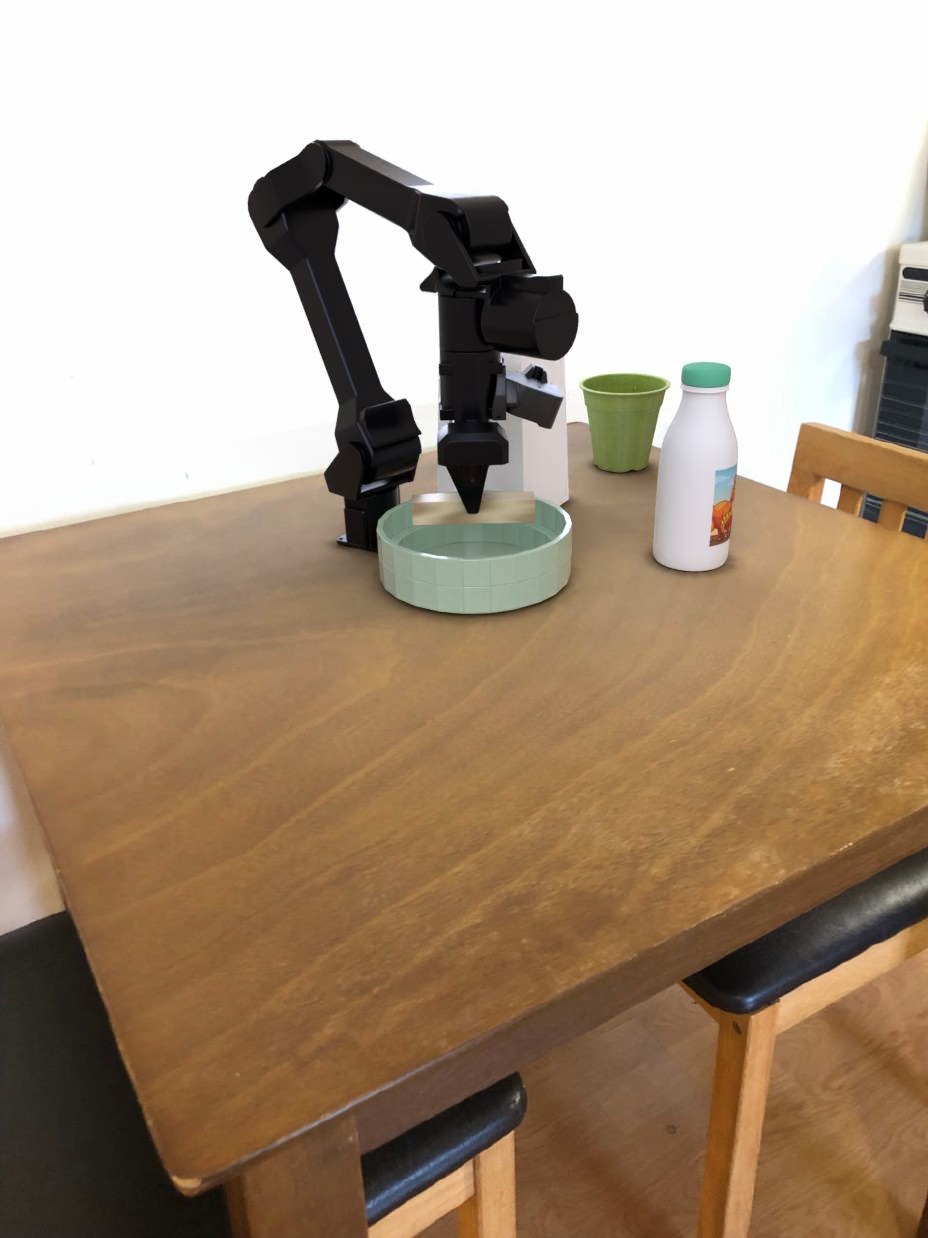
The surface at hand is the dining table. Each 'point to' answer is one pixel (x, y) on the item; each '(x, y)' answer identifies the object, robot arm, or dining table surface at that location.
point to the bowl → (475, 560)
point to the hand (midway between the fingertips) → (472, 508)
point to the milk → (527, 446)
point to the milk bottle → (697, 474)
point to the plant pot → (623, 417)
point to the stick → (491, 511)
